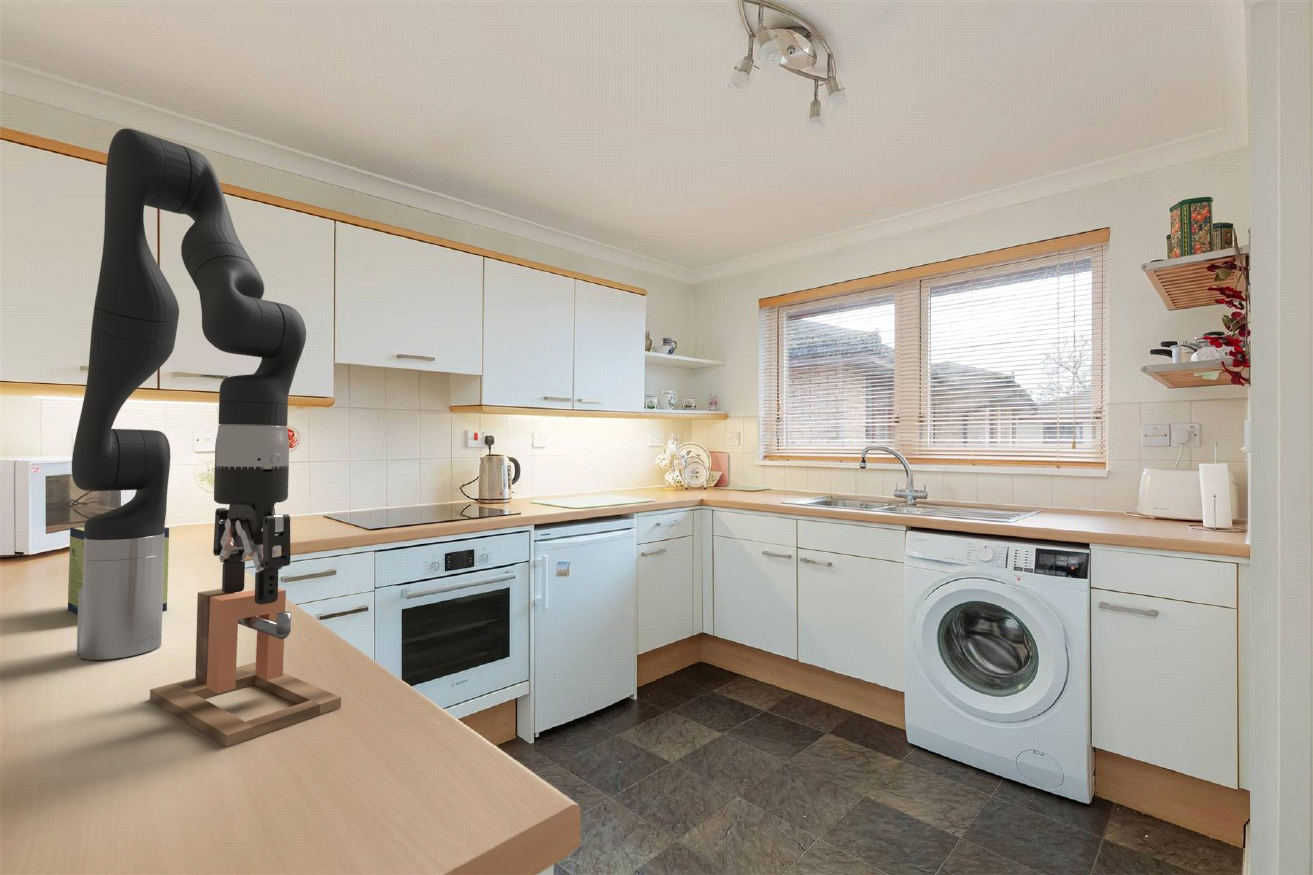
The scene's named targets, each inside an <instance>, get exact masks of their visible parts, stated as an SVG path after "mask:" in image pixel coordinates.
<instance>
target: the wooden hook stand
mask: <svg viewBox="0 0 1313 875" xmlns="http://www.w3.org/2000/svg"><path fill="white" fill-rule="evenodd" d="M230 594H233V593H230ZM220 595H227V593H224V592H223V591H222V588H216V589H212V590H205V591H198V592H197V602H196V603H197V604H196V637H195V638H196V639H195V640H196V641H195V642H196V643H195V644H196V645H195V677H194V678H190V679H185V680H182V681H177V682H174V683H171V684H170V683H169V684H166V685H161V686H157V687H155V688H151V689H149V700H150V701H152V702H153V703H155V704H157V705H159V706H160V707H162V708H163V709H165V710H166V711H168V712H169V713H171V714H173V715H174V716H176V717H178V718H179V719H181V720H183V721H184V722H186V723H187V724H189V725H190V726H192V727H194V728H195V729H197V730H199V731H200V732H202V733H203V734H205V735H207V736H208V737H210V738H212V739H213V740H214V741H216V742H217V743H220V744H221V745H223V746H224V747H226V748H228V747H230V746H234V745H237V744H239V743H242V742H245V741H248V740H251V739H254V738H257V737H260V736H264V735H265V734H269V733H271V732H274V731H277V730H280V729H282V728H286V727H288V726H291V725H292V726H293V725H294V724H297V723H301V722H303V721H306V720H309V719H312V718H314V717H317V716H320V715H323V714H326V713H329V712H332V711H335V710H337V709H340V708H342V697H341V696H340V695H337V694H335V693H332V692H330V691H328V690H325V689H324V688H320V687H318V686H315V685H313V684H311V683H309V682H306V681H304V680H301V679H299V678H297V677H294V676H291V675H290V674H287V673H284V672H283V676H281V677H278V678H274V679H270V680H265V679H263V678H261V677H259V676H256V675H255V673H256V661H255V662H252V663H248V664H245V665H241V666H236V685H235V689H233V690H229V691H225V692H221V693H216V692H214V691H212V690H210V689H208V688H207V664H208V641H209V617H210V597H213V596H220ZM253 685H255V686H257V687H259V688H262V689H264V690H266V691H269V692H270V693H272V694H275V695H276V696H278V697H281V698H283V699H286V700H288V701H289V702H291V703H293V704H295V705H292V706H289V707H285V708H283V709H279V710H276V711H273V712H270V713H267V714H264V715H261V716H258V717H254V718H252V719H249V720H243V719H241V718H239V717H237V716H236V715H234V714H232V713H230V712H228V711H226V710H224V709H223V708H221V707H219V706H217V705H216V704H214V703H212V702H210V701H209V700H207V698H211V697H214V696H218V695H222V694H225V693H228V692H232V691H235V690H238V689H243V688H246V687H250V686H253Z"/></svg>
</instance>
